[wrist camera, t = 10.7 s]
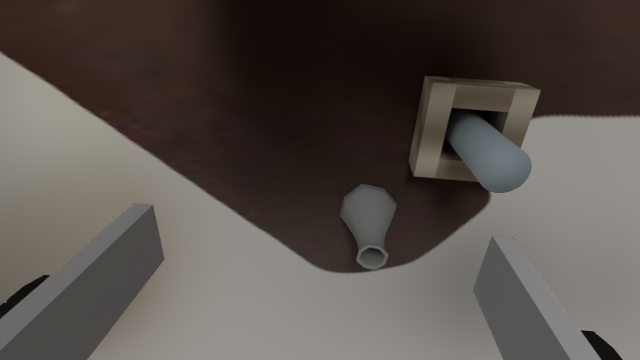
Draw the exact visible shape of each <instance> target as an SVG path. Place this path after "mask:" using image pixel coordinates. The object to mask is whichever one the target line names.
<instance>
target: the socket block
mask: <svg viewBox="0 0 640 360" xmlns="http://www.w3.org/2000/svg"><path fill="white" fill-rule="evenodd" d="M540 92H541V90H539V89H536V88H534V87H531V86H529V85H526V84H524V83H520V82H506V81H491V80H477V79H463V78H449V77H435V76H425V78H424V83H423V88H422V94H421V99H420V104H419V109H418V114H417V120H416V125H415V130H414V135H413V140H412V146H411V151H410V156H409V161H408V162H409V165H410V167H411V170H412V173H413V175H414V176H416V177H428V178H439V179H451V180H462V181H474V182H479V181H478V180H477V178H476V177H475V176H474V175H473V173H472V172H471V171H470V169H469V168H468V167H467V165H466V164H465V163H464V162H463V160H462V159H461V158H460V156H459V155H458V154H457V152H456V151H455V150H454V149H453V148H452V147H442V146H443V141H444V137H445V133H446V129H447V125H448V120H449V116H450V112H451V108H461V109H475V110H488V111H491V112H490V115H489V118H488V122H487V123H489V124H490V125H491V126H492V127H494V128H495V129H496V130H497V131H499V132H500V133H501V134H502V135H504V136H505V137H506V138H507V139H509V140H510V141H511V142H512V143H514V144H515V145H516V146H518V147H519V148H521V145H522V142H523V140H524V137H525V134H526V131H527V128H528V125H529V123H530V120H531V117H532V114H533V111H534V109H535V106H536V103H537V100H538V97H539V94H540Z"/></svg>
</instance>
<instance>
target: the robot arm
mask: <svg viewBox="0 0 640 360" xmlns="http://www.w3.org/2000/svg"><path fill="white" fill-rule="evenodd" d="M163 260H164V255H163V250H162V245H161V241H160V236H159V232H158V226H157V222H156V217H155V213H154V208H153V205H148V204H137V203H134V204H133V205H132V206H131V207H129V208H128V209H127V210H126V211H125V212H124V213H122V214H121V215H120V216H119V217H118V218H117V219H115V220H114V221H113V222H112V223H111V224H110V225H109V226H107V227H106V228H105V229H104V230H103V231H102V232H100V233H99V234H98V235H97V236H96V237H95V238H94V239H92V240H91V241H90V242H89V243H88V244H87V245H85V246H84V247H83V248H82V249H81V250H80V251H78V252H77V253H76V254H75V255H74V256H73V257H72V258H70V259H69V260H68V261H67V262H66V263H65V264H63V265H62V266H61V267H60V268H59V269H58V270H57V271H55V272H54V273H53V274H52V275H51V276H49V275H43V276H42V277H40V278H38V279H36V280H34V281H33V282H31V283H29V284H27V285H25V286H24V287H22V288H21V289H20V290H19V291H17V292H16V293H15V294H14V295H13V296H11V297H10V298H9V299H8V300H7V302H6V303H3V304H2V305H0V360H87V359H88V358H89V357H90V355H91V354H92V353H93V351H94V350H95V349H96V348H97V346H98V345H99V344H100V342H101V341H102V340H103V338H104V337H105V336H106V335H107V333H108V332H109V331H110V329H111V328H112V327H113V325H114V324H115V323H116V322H117V320H118V319H119V317H120V316H121V315H122V314H123V312H124V311H125V310H126V309H127V307H128V306H129V305H130V303H131V302H132V301H133V299H134V298H135V297H136V296H137V294H138V293H139V292H140V290H141V289H142V288H143V286H144V285H145V284H146V282H147V281H148V280H149V279H150V277H151V276H152V275H153V273H154V272H155V271H156V270H157V268H158V267H159V266H160V264H161V263H162V262H163ZM473 291H474V293H475V296H476V298H477V300H478V302H479V305H480V307H481V309H482V312H483V314H484V316H485V319H486V321H487V323H488V325H489V328H490V330H491V332H492V335H493V337H494V339H495V341H496V344H497V346H498V348H499V351H500V353H501V355H502V357H503V359H504V360H622V358H621V357H620V356H619V355H618V353H617V352H616V351H615V349H614V348H613V347H611V346H610V345H609V344H608V343H607V342H605V341H604V340H603V339H602V338H601V337H599V336H598V335H597V334H596V333H595V332H593V331H582V330H580V329H579V328H578V327H577V325H576V324H575V322H574V321H573V320H572V318H571V317H570V316H569V314H568V313H567V311H566V310H565V309H564V307H563V306H562V304H561V303H560V302H559V300H558V299H557V298H556V296H555V295H554V293H553V292H552V291H551V289H550V288H549V286H548V285H547V284H546V282H545V281H544V279H543V278H542V277H541V275H540V274H539V273H538V271H537V270H536V268H535V267H534V266H533V264H532V263H531V262H530V260H529V259H528V257H527V256H526V254H525V253H524V252H523V250H522V249H521V248H520V246H519V245H518V243H517V242H516V241H515V239H514V238H513V237H501V236H492V238H491V241H490V243H489V246H488V249H487V252H486V255H485V258H484V261H483V263H482V266H481V269H480V272H479V275H478V277H477V280H476V283H475V286H474V289H473Z"/></svg>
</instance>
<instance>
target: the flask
mask: <svg viewBox="0 0 640 360" xmlns="http://www.w3.org/2000/svg"><path fill="white" fill-rule="evenodd" d="M397 204H398V203H397V202H396V201H395V200H394V199H393V198H392V197H391V195H390V194H389V193H388V192H387V191H386V190H385V189H384V188H381V187H376V186H371V185H367V184H360V185H359V186H357V187H356V188H355V189H353V190H352V191H351V192H349V193H348V194H346V195H345V196H344V199H343V203H342V206H341V210H340V214H339V215H340V216H341V218H342V219H343V221H344V222H345V223H346V225H347V226H348V228H349V229H350V231H351V232H352V234H353V236H354V237H355V239H356V242H357V245H358V249H359V251H358V254H357V257H356V261H357V262H358V263H359V264H360V265H361V266H362V267H363V268H366V269H371V270H377V269H379V268H380V267H382V266H384V265H385V263H386V261H387V258H388V253H387V252H386V250H385V249H384V240H385V234H386V232H387V230H388V228H389V226H390V224H391V221H392V218H393V216H394V213H395V210H396V207H397Z"/></svg>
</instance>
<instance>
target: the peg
mask: <svg viewBox="0 0 640 360" xmlns="http://www.w3.org/2000/svg"><path fill="white" fill-rule="evenodd" d="M445 138H446V139H447V141H448V142H449V143H450V145H451V146H452V147H453V149H454V150H455V151H456V152H457V154H458V155H459V156H460V158H461V159H462V160H463V162H464V163H465V164H466V165H467V167H468V168H469V169H470V171H471V172H472V173H473V175H474V176H475V177H476V178H477V180H478V181H479V182H480V184H481V185H482V186H483V187H484V188H485V189H487V190H488V191H491V192H495V193H504V192H509V191H512V190H514V189H516V188H518V187H519V186H520V185H522V184H523V183H524V182H525V180H526V179H527V178H528V176H529V174H530V172H531V160H530V158H529V156H528V155H527V154H526V153H525V152H524V151H523V150H521V149H520V148H519V147H518V146H516V145H515V144H514V143H512V142H511V141H510V140H509V139H507V138H506V137H505V136H504V135H502V134H501V133H500V132H499V131H497V130H496V129H495V128H494V127H492V126H491V125H490V124H489V123H487V122H486V121H485V120H483V119H482V118H481V117H480V116H478V115H477V114H476V113H475V112H473V111H472V110H470V109H461V108H459V109H456V110H453V111H452V112H450V116H449V120H448V125H447V129H446V133H445Z"/></svg>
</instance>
